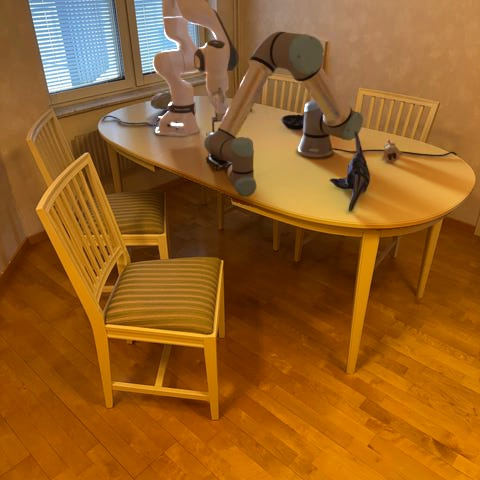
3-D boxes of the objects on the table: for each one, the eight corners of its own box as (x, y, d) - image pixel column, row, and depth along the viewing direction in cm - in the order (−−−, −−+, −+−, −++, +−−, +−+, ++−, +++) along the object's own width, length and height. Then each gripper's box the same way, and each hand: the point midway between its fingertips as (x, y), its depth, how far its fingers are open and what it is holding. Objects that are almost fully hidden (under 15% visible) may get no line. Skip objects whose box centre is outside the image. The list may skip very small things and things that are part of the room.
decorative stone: (158, 114, 254) (156, 96, 248) (147, 110, 260) (145, 93, 255) (182, 108, 264) (180, 91, 258) (170, 104, 270) (168, 87, 265)
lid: (206, 135, 192) (205, 115, 187) (228, 132, 194) (228, 113, 189) (213, 149, 180) (212, 128, 175) (236, 146, 182) (236, 126, 177)
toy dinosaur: (326, 226, 163) (368, 226, 158) (320, 201, 151) (365, 200, 146) (334, 150, 181) (372, 148, 176) (329, 123, 169) (370, 119, 164)
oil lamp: (321, 125, 232) (322, 116, 229) (296, 134, 221) (297, 125, 218) (299, 119, 241) (299, 110, 239) (274, 128, 230) (275, 118, 227)
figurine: (404, 161, 186) (401, 150, 199) (400, 144, 183) (397, 134, 196) (383, 167, 189) (381, 155, 202) (379, 151, 186) (377, 140, 199)
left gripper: (231, 91, 170) (231, 126, 178) (219, 78, 187) (220, 111, 194) (215, 92, 169) (216, 128, 177) (204, 79, 186) (206, 112, 193)
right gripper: (207, 184, 167) (197, 162, 185) (264, 177, 172) (249, 156, 190) (206, 165, 163) (196, 145, 181) (265, 158, 168) (249, 139, 186)
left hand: (218, 119), depth 186 cm, fingers closed, pressing on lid
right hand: (223, 150), depth 186 cm, fingers closed on chest, 10 cm apart
